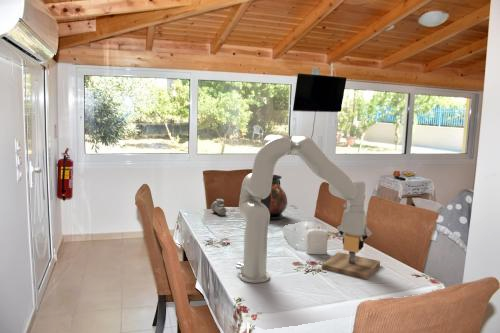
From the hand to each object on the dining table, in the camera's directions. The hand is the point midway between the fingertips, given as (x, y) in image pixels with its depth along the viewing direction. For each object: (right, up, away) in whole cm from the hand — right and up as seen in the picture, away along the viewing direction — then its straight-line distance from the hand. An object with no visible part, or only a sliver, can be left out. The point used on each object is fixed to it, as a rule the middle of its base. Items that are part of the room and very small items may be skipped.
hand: (352, 246), depth 177 cm
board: (0, -9, +1) cm, 9 cm away
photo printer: (-13, -7, +18) cm, 23 cm away
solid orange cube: (0, -1, 0) cm, 1 cm away
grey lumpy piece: (-67, +4, +91) cm, 113 cm away
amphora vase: (-32, +2, +85) cm, 91 cm away
